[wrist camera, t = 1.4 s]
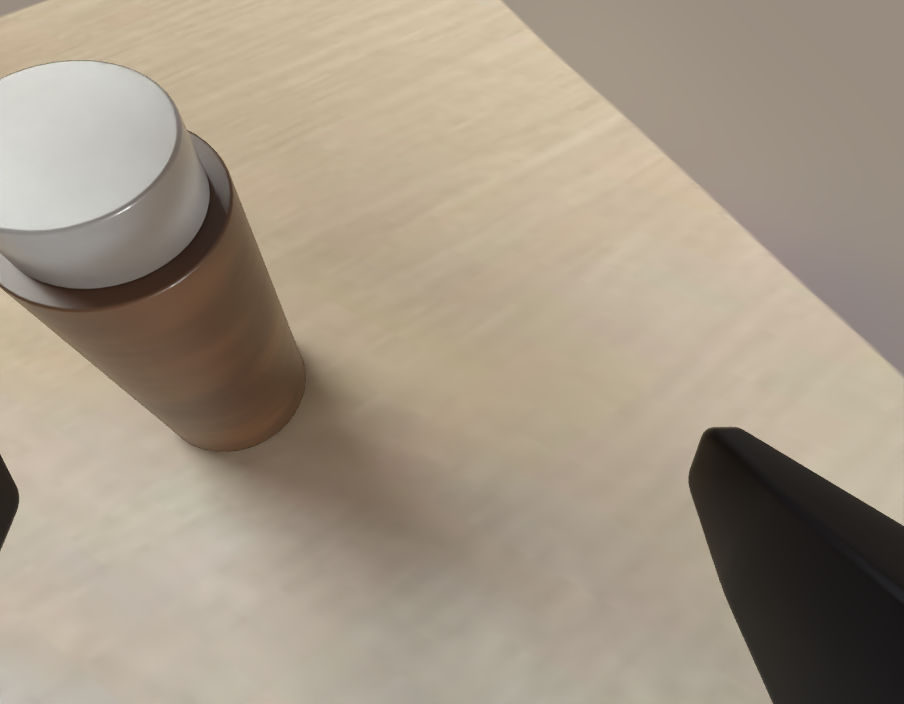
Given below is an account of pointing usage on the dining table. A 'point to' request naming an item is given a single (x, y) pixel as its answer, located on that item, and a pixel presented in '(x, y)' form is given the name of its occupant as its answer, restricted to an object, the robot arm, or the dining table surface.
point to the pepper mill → (141, 252)
